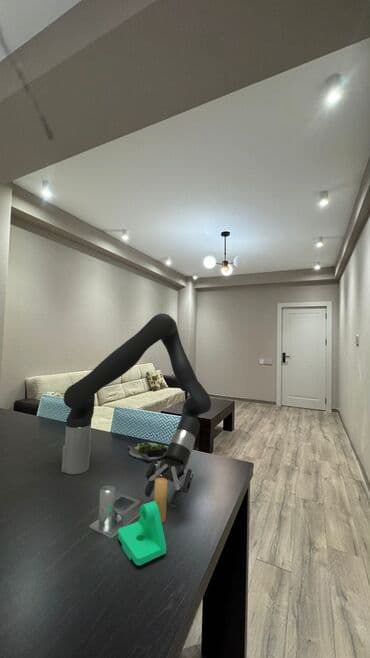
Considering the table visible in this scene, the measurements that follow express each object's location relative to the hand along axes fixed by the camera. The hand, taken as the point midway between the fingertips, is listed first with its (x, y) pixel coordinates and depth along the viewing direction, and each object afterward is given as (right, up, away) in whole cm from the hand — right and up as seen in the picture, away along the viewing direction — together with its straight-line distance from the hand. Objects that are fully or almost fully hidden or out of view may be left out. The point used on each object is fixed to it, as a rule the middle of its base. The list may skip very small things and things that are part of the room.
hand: (159, 500), depth 83 cm
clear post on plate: (-12, -5, -1) cm, 13 cm away
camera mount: (-4, -6, -11) cm, 13 cm away
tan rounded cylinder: (0, -6, +1) cm, 6 cm away
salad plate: (-8, -7, +46) cm, 48 cm away
